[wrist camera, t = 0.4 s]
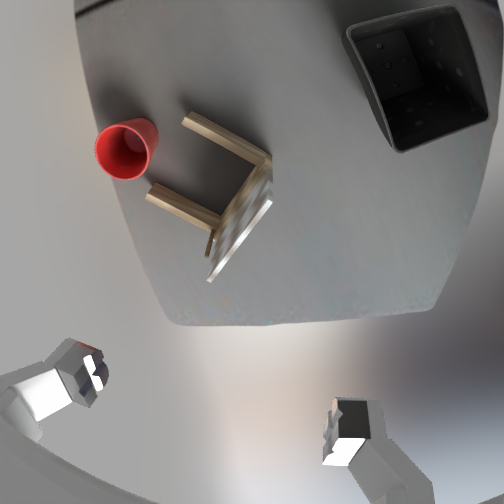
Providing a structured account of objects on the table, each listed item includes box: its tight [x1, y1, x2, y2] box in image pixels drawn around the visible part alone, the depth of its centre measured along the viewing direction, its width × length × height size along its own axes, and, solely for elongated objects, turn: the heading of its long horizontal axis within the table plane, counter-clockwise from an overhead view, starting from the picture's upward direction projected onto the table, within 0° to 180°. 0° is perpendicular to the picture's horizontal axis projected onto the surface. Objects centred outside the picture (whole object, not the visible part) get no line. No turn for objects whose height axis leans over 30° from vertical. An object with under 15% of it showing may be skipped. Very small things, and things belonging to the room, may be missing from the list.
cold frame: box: [145, 111, 273, 283], centre depth 50 cm, size 19×18×18 cm
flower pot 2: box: [342, 3, 490, 154], centre depth 34 cm, size 19×19×17 cm
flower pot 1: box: [95, 118, 158, 180], centre depth 49 cm, size 11×11×10 cm
